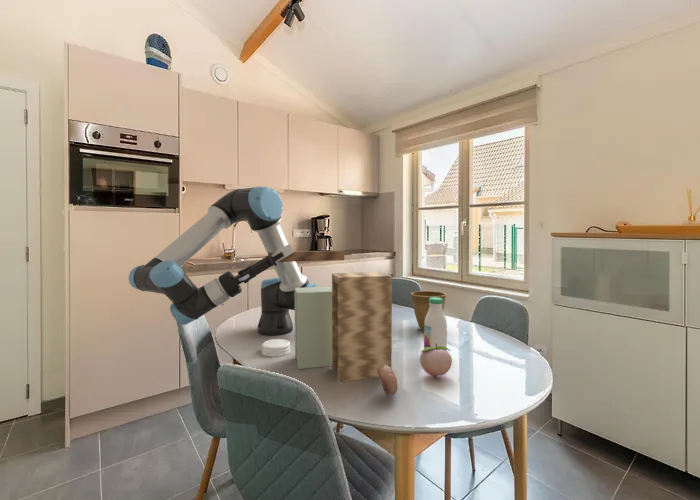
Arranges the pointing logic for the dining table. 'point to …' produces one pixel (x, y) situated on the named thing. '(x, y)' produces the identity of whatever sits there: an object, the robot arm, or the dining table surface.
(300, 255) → the wooden square beam
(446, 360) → the decorative fruit
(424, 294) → the plant pot
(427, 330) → the milk bottle
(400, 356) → the dining table surface
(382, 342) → the brown wooden tall box
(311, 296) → the sage green rectangular block
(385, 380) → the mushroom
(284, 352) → the coaster
